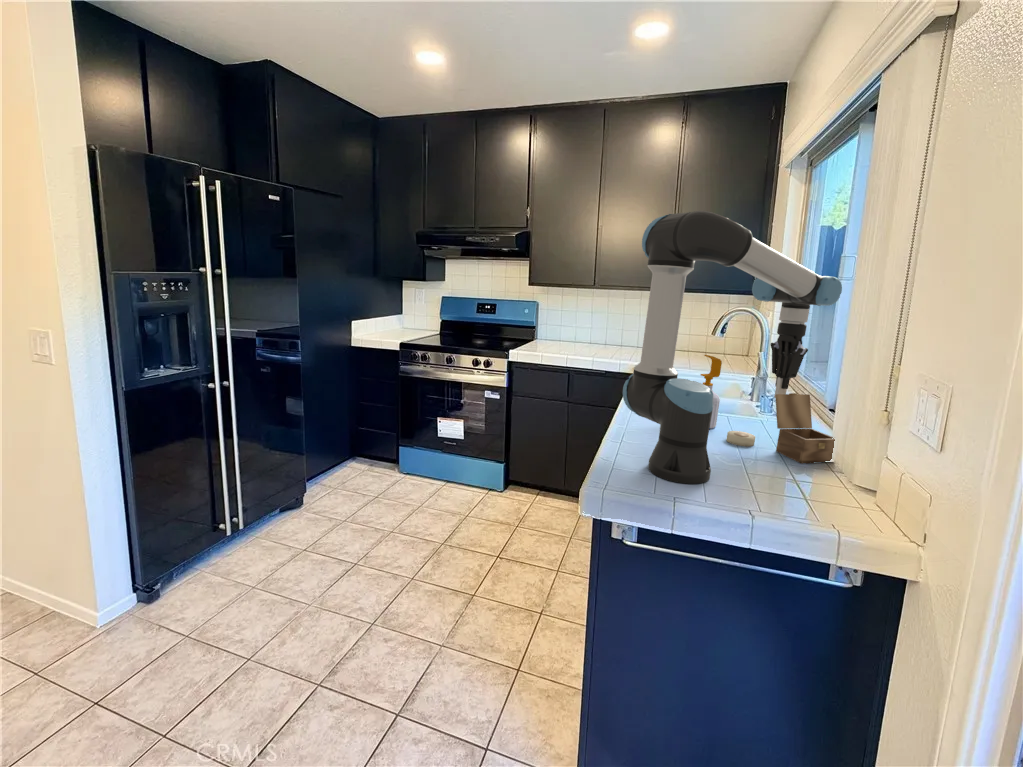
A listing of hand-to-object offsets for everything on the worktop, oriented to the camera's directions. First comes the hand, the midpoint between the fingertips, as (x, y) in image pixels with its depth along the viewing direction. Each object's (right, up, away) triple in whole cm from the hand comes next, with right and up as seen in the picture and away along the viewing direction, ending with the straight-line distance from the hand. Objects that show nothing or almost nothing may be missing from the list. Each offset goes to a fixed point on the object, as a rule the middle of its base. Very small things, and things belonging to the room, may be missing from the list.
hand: (779, 398), depth 155 cm
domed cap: (-12, -14, +1) cm, 18 cm away
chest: (+2, -17, -10) cm, 20 cm away
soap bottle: (-18, -10, +18) cm, 27 cm away
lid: (+1, -4, -6) cm, 7 cm away
